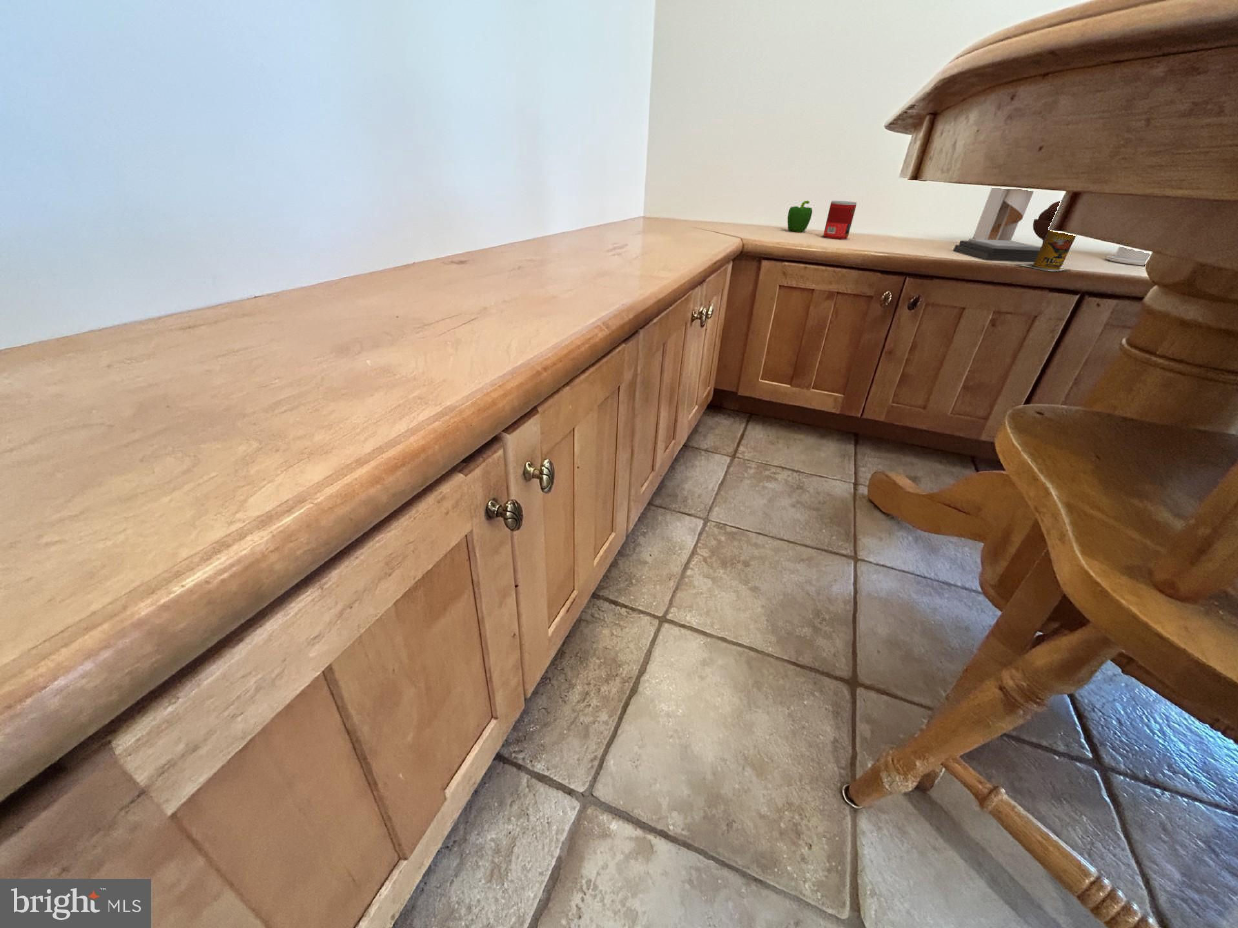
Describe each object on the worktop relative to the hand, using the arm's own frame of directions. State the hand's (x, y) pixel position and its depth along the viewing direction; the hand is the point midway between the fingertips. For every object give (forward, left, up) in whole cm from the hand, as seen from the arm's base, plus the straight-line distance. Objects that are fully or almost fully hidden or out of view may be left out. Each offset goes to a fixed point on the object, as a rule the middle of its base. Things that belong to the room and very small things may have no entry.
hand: (1076, 165), depth 123 cm
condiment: (-1, +3, -24) cm, 24 cm away
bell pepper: (+47, -56, -24) cm, 77 cm away
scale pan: (-1, -15, -21) cm, 26 cm away
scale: (-1, -15, -23) cm, 28 cm away
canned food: (+38, -42, -24) cm, 62 cm away
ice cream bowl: (-19, -22, -24) cm, 38 cm away
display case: (-13, -35, -24) cm, 44 cm away
